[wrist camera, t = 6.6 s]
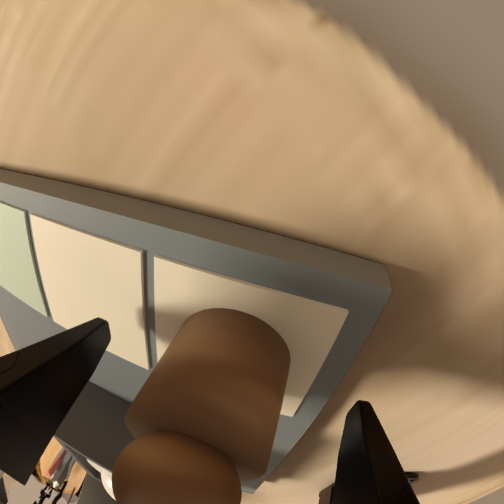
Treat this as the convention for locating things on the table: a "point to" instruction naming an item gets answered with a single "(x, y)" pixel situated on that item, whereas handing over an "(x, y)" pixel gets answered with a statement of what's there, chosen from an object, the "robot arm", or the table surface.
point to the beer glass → (50, 479)
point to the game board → (172, 299)
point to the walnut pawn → (205, 413)
